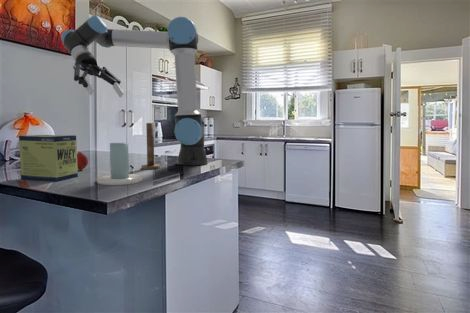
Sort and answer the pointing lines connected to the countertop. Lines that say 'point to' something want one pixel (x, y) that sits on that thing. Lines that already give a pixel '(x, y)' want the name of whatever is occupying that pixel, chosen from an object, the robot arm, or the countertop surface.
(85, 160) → the red fruit
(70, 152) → the protein box
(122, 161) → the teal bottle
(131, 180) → the cream plate
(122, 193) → the countertop surface
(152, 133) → the walnut post
